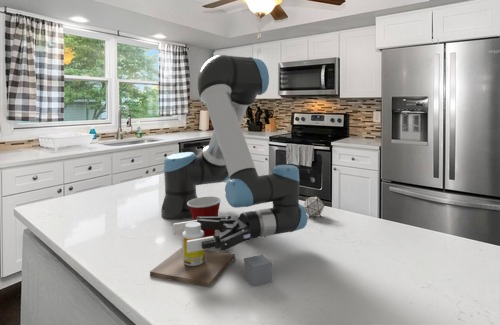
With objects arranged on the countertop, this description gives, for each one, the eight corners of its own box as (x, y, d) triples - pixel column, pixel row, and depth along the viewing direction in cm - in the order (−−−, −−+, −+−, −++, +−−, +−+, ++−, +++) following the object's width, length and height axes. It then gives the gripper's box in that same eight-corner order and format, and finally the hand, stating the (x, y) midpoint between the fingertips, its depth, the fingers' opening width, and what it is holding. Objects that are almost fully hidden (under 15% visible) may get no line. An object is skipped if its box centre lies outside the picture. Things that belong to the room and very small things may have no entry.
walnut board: (150, 276, 83) (149, 271, 83) (183, 250, 98) (183, 246, 98) (209, 287, 78) (209, 282, 78) (234, 258, 93) (234, 254, 93)
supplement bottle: (207, 264, 87) (206, 226, 85) (186, 268, 84) (185, 229, 83) (201, 255, 92) (200, 219, 90) (180, 259, 89) (179, 222, 88)
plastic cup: (189, 230, 114) (188, 195, 112) (221, 229, 115) (221, 195, 113) (186, 243, 103) (184, 205, 101) (221, 242, 104) (221, 204, 102)
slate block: (253, 287, 78) (253, 266, 77) (244, 277, 83) (243, 258, 82) (272, 282, 80) (272, 262, 80) (262, 273, 85) (262, 254, 84)
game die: (317, 227, 127) (326, 211, 121) (296, 218, 129) (304, 202, 122) (322, 210, 134) (331, 194, 127) (301, 201, 135) (309, 185, 128)
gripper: (278, 253, 84) (194, 272, 75) (238, 223, 106) (169, 234, 97) (278, 224, 83) (194, 240, 74) (237, 200, 105) (168, 209, 95)
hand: (179, 237), depth 85 cm, fingers open, 12 cm apart
